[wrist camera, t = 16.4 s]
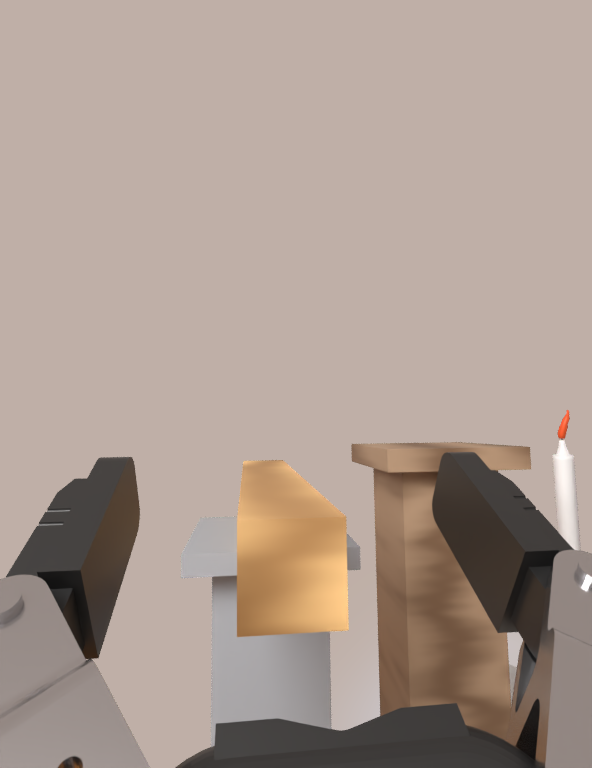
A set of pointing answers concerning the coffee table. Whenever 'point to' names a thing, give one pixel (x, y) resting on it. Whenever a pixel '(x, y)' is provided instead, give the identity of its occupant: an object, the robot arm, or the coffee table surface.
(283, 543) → the ochre bar
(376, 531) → the tall pillar
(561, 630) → the robot arm
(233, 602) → the short pillar
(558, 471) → the candlestick
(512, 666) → the coffee table surface
